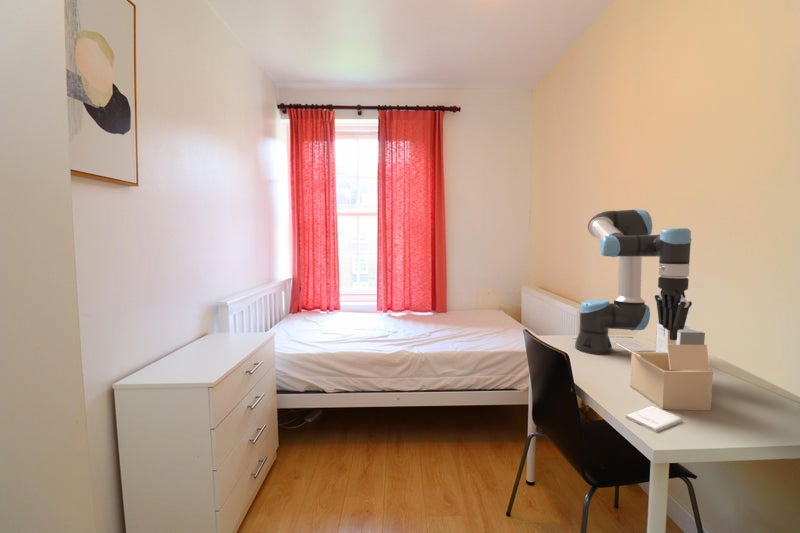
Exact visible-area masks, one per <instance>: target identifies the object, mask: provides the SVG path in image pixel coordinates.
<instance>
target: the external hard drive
mask: <svg viewBox="0 0 800 533" xmlns="http://www.w3.org/2000/svg"><path fill="white" fill-rule="evenodd" d="M624 417H625V419H627V420H629V421H632V422H633V423H635V424H637V425H641V426H642V427H643V428H646V429H648V430H650V431H652V432H654V433H657V432H660V431H662V430H664V429H667V428H669V427H672V426H674V425H677V424H680V423H682V422H683V419H682V418H681V417H680V416H677V415H675V414H673V413H670V412H667V411H665V410H664V409H661V408H659V407H656V406H652V405H651V406H648V407H645V408H642V409H640V410H639V409H638V410H637V411H635V412H631V413H629V414H626V415H625V416H624Z"/></svg>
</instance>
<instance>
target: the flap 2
mask: <svg viewBox="0 0 800 533" xmlns="http://www.w3.org/2000/svg"><path fill="white" fill-rule="evenodd" d="M667 348H668V357H669V367H670V370H710V369H711V368H710V363H709V354H708V345H707V344H704V345H667ZM709 368H710V369H709Z"/></svg>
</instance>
